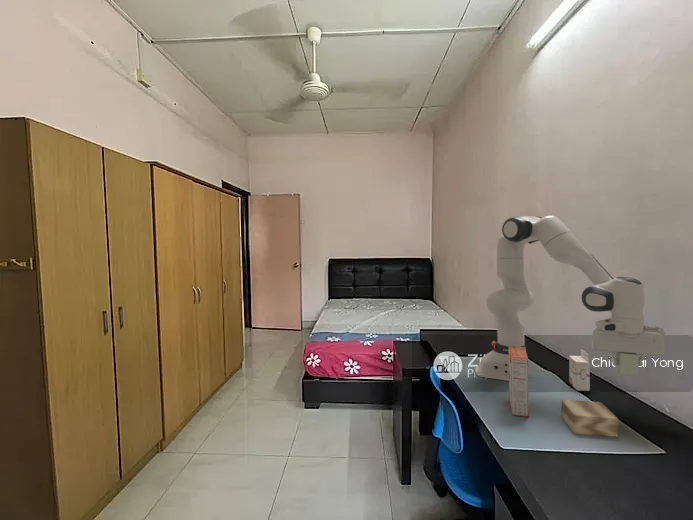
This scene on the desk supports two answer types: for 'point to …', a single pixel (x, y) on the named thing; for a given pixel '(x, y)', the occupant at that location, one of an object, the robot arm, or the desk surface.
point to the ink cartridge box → (579, 372)
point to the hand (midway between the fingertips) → (626, 364)
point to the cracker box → (518, 381)
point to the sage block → (627, 363)
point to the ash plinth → (589, 418)
